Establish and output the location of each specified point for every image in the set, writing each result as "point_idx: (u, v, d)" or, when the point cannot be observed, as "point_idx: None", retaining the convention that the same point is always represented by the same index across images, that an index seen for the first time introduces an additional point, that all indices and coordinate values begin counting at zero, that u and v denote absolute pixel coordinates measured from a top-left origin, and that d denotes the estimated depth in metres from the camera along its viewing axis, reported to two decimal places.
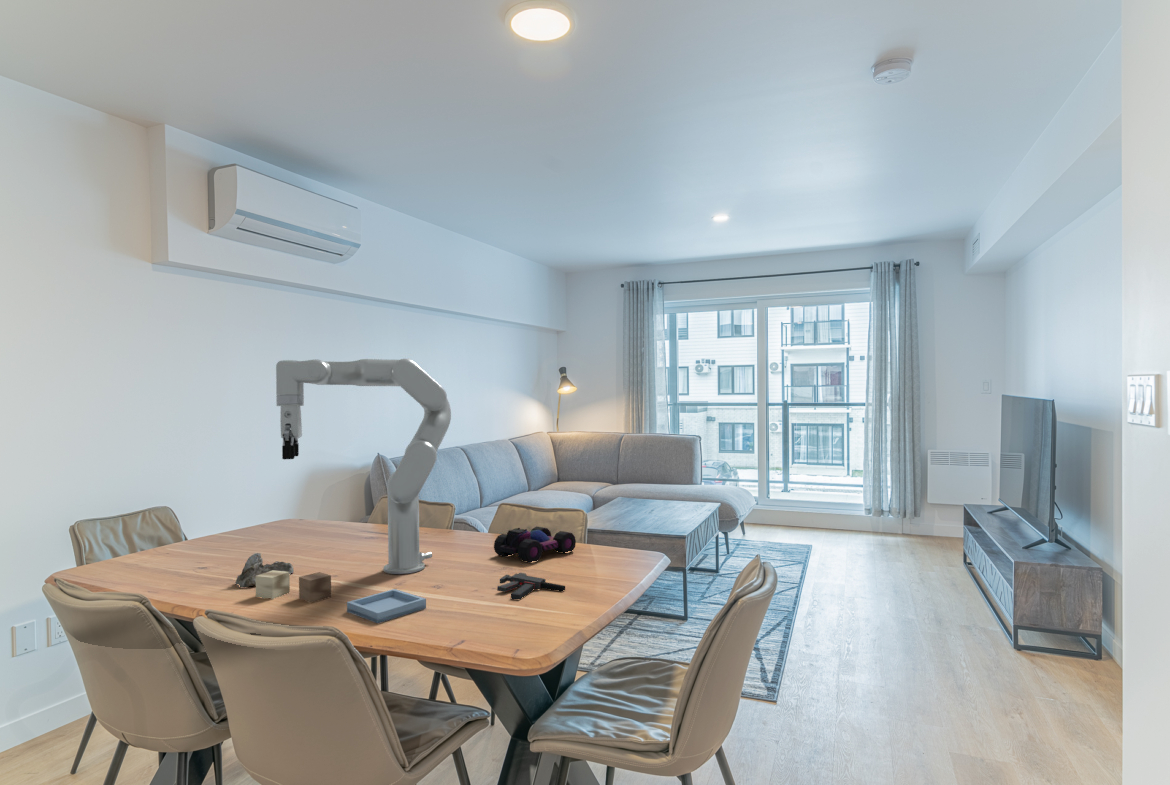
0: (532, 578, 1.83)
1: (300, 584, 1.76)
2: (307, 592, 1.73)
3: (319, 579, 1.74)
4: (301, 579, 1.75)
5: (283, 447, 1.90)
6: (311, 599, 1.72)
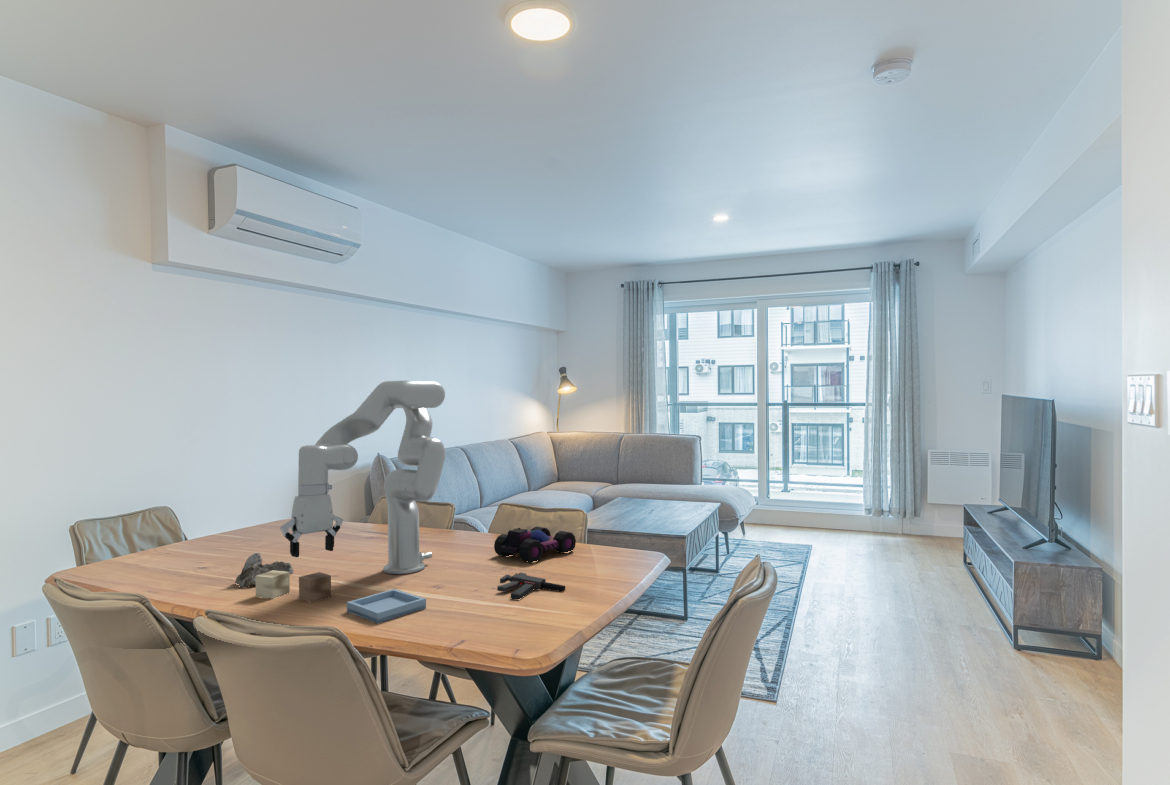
0: (532, 578, 1.83)
1: (300, 584, 1.76)
2: (307, 592, 1.73)
3: (319, 579, 1.74)
4: (301, 579, 1.75)
5: None
6: (311, 599, 1.72)
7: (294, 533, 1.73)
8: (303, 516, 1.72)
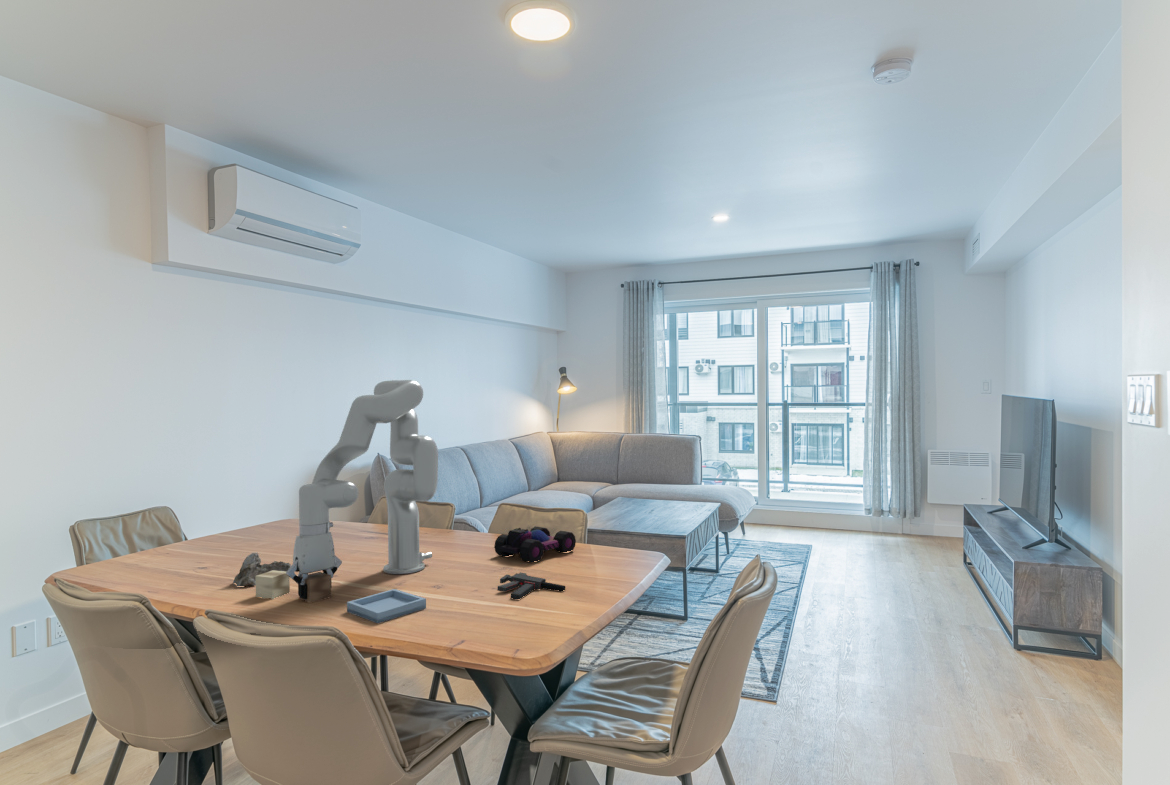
0: (532, 578, 1.83)
1: None
2: (307, 592, 1.73)
3: (319, 579, 1.74)
4: None
5: None
6: (311, 598, 1.72)
7: (300, 575, 1.74)
8: (305, 556, 1.72)
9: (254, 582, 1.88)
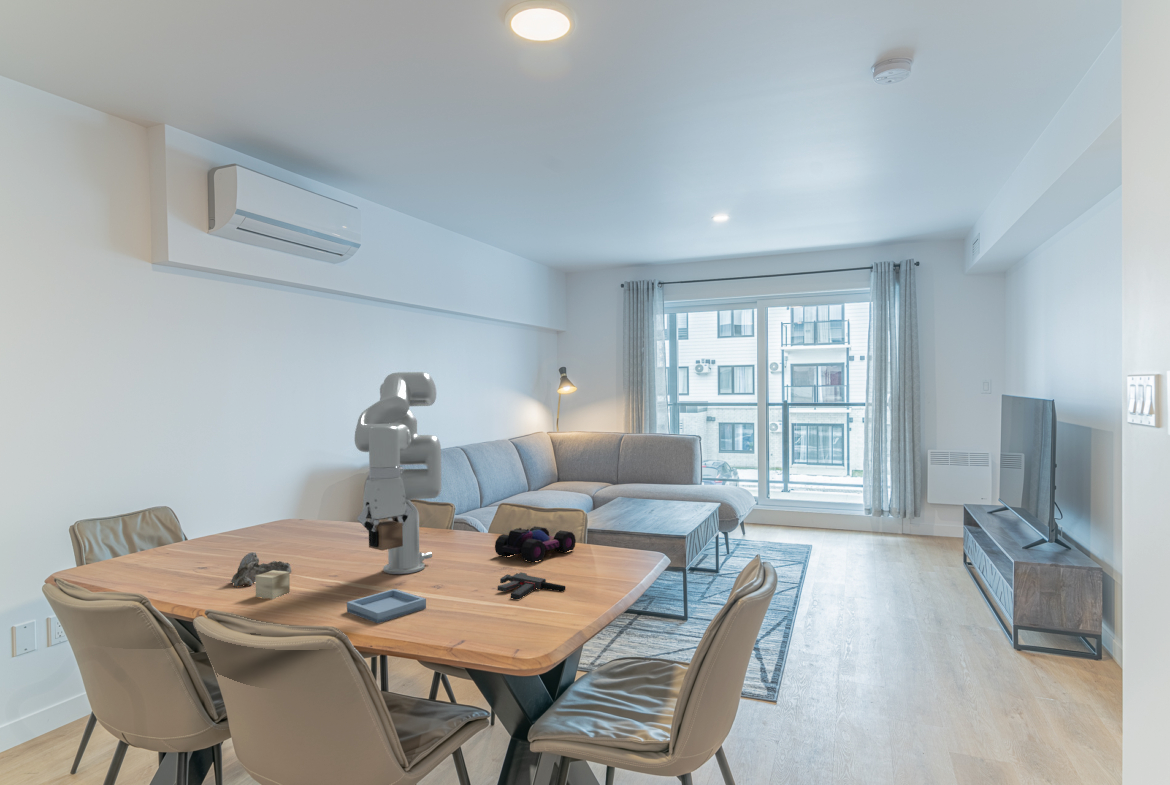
0: (532, 578, 1.83)
1: None
2: (379, 539, 1.62)
3: (391, 526, 1.63)
4: None
5: None
6: (383, 546, 1.61)
7: (371, 521, 1.63)
8: (377, 501, 1.61)
9: (250, 582, 1.88)
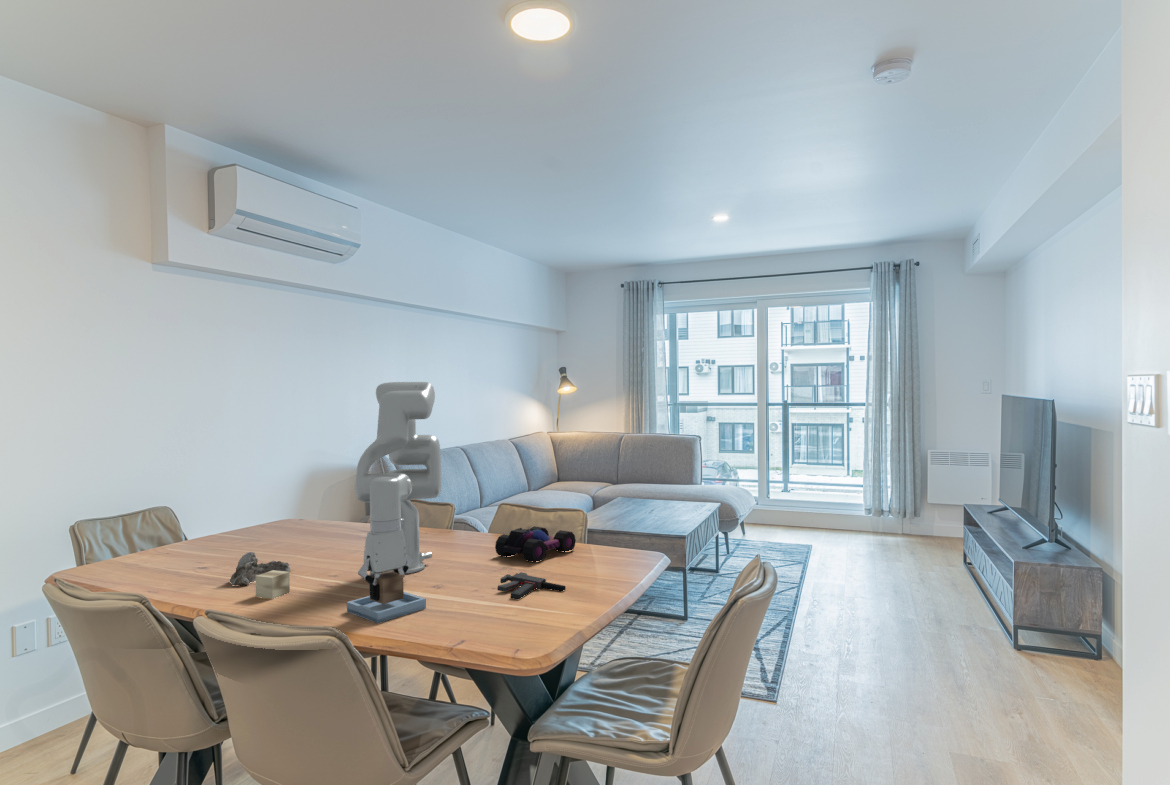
0: (533, 578, 1.83)
1: None
2: (379, 592, 1.62)
3: (392, 579, 1.63)
4: None
5: None
6: (384, 600, 1.61)
7: (371, 574, 1.63)
8: (377, 554, 1.61)
9: (247, 582, 1.89)
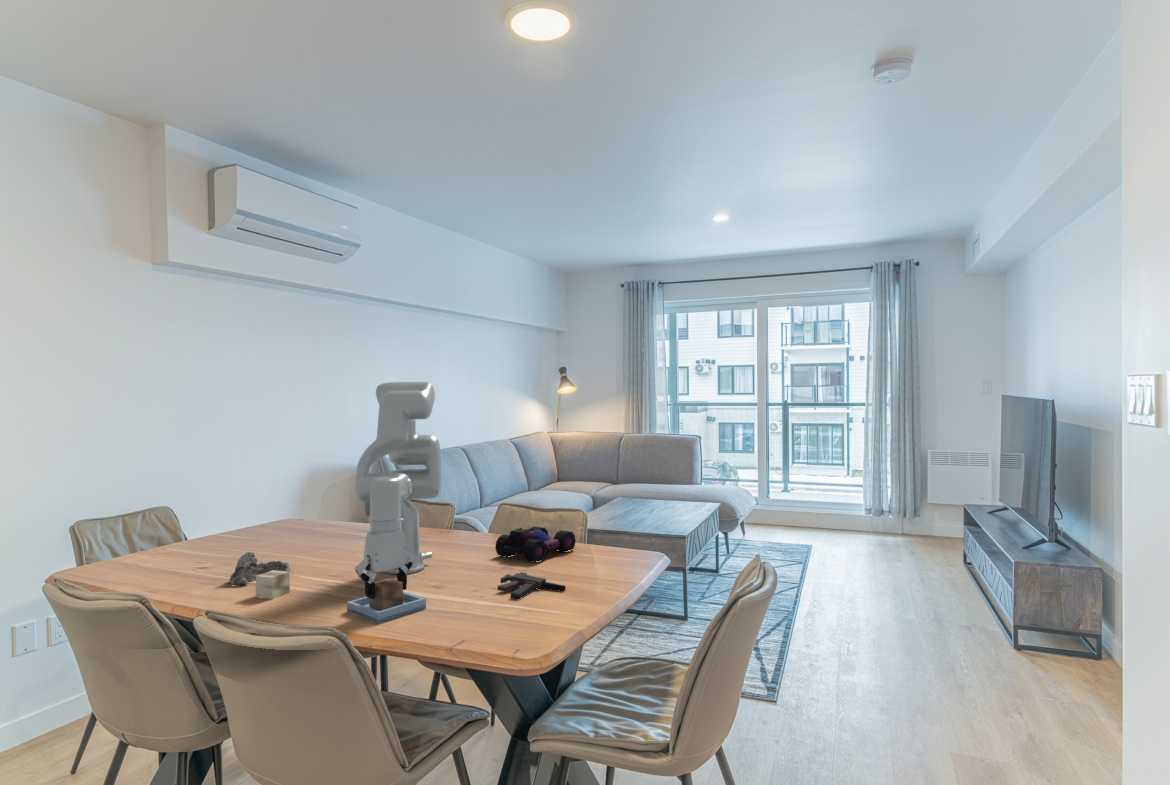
0: (533, 578, 1.83)
1: None
2: (379, 600, 1.62)
3: (391, 586, 1.63)
4: None
5: None
6: (383, 607, 1.61)
7: (368, 573, 1.62)
8: (377, 554, 1.61)
9: (246, 581, 1.89)
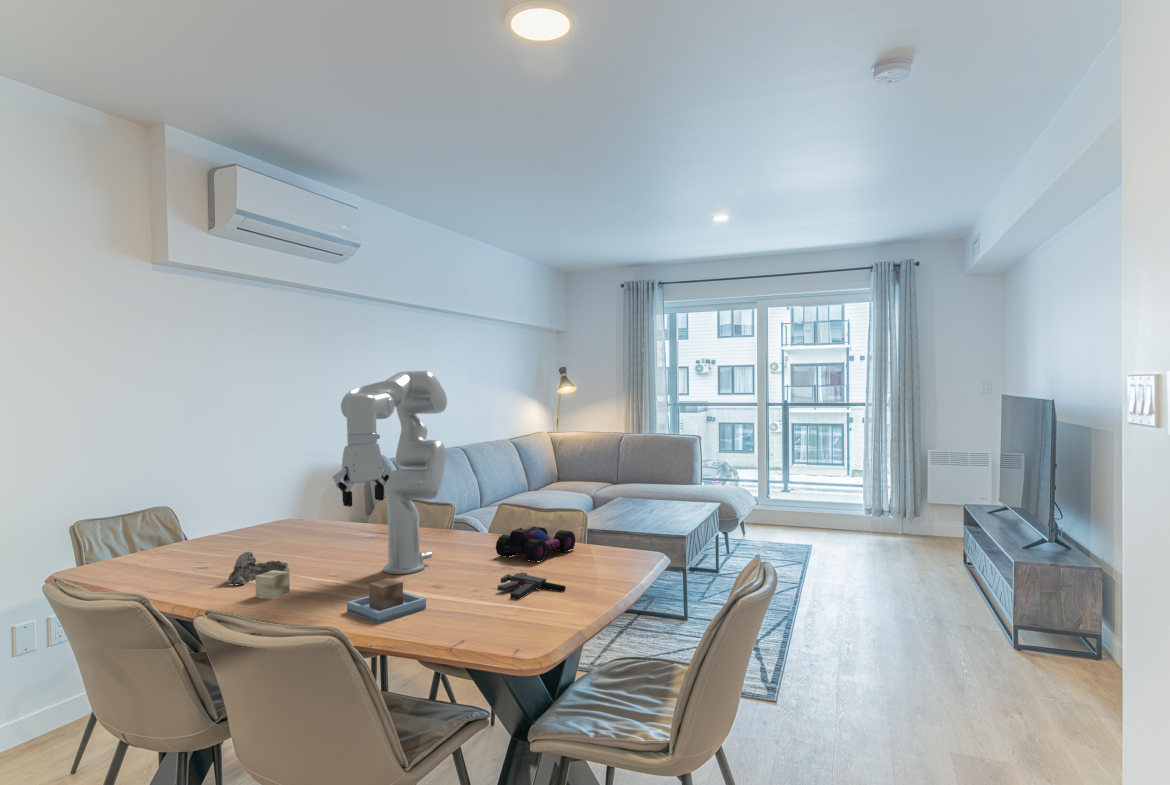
0: (533, 578, 1.83)
1: (370, 592, 1.64)
2: (379, 600, 1.62)
3: (391, 586, 1.63)
4: (371, 586, 1.64)
5: None
6: (383, 607, 1.61)
7: (346, 483, 1.72)
8: (355, 465, 1.70)
9: (243, 581, 1.89)
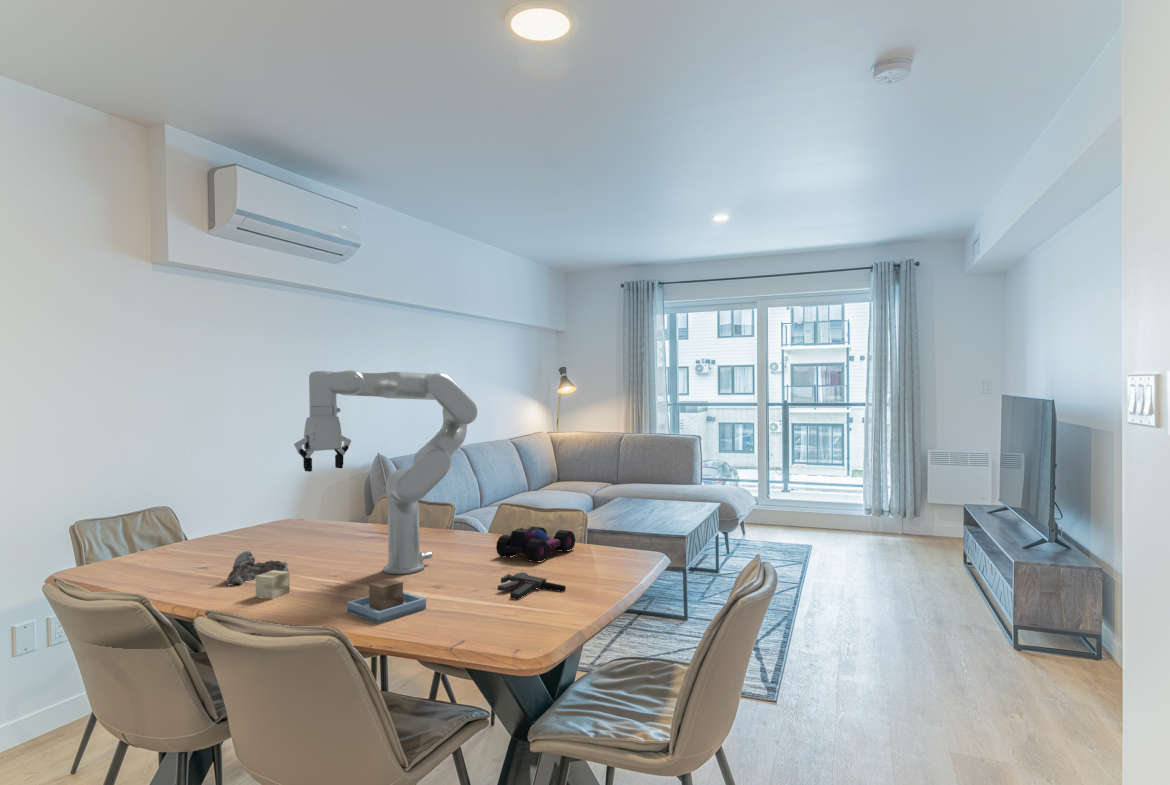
0: (533, 578, 1.83)
1: (370, 592, 1.64)
2: (379, 600, 1.62)
3: (391, 586, 1.63)
4: (371, 586, 1.64)
5: None
6: (383, 607, 1.61)
7: (307, 450, 1.90)
8: (315, 434, 1.88)
9: (241, 581, 1.90)
